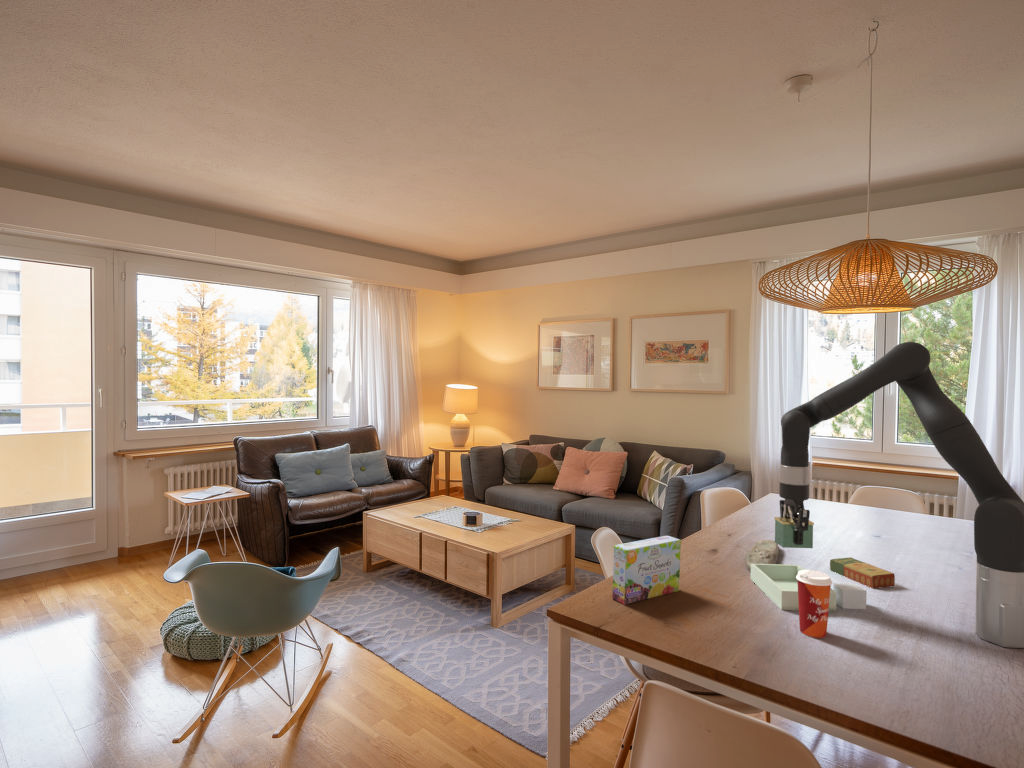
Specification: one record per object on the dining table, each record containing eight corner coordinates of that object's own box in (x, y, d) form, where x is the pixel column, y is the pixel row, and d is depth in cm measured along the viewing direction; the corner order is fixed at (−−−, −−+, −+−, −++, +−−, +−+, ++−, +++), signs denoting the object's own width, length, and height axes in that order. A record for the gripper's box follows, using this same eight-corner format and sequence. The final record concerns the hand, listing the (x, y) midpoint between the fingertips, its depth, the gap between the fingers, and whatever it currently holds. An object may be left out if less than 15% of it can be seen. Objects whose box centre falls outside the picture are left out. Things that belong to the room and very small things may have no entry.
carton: (871, 589, 163) (872, 575, 163) (829, 571, 179) (829, 558, 179) (895, 587, 165) (895, 573, 165) (850, 569, 181) (850, 556, 181)
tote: (836, 611, 146) (836, 592, 146) (781, 609, 147) (781, 590, 147) (797, 581, 168) (798, 564, 168) (750, 579, 169) (750, 563, 169)
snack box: (626, 606, 149) (626, 549, 148) (611, 599, 153) (612, 544, 153) (680, 591, 160) (681, 538, 160) (665, 585, 165) (666, 533, 164)
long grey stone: (784, 553, 202) (754, 550, 207) (783, 538, 202) (753, 535, 207) (775, 576, 171) (741, 572, 176) (775, 559, 172) (740, 555, 177)
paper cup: (816, 642, 129) (817, 582, 129) (787, 628, 136) (788, 571, 136) (839, 636, 132) (840, 577, 132) (810, 623, 139) (811, 567, 139)
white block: (866, 609, 148) (866, 590, 148) (842, 608, 149) (843, 590, 149) (855, 602, 153) (856, 583, 153) (833, 601, 154) (833, 583, 154)
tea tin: (813, 548, 155) (813, 522, 155) (782, 547, 155) (783, 522, 155) (803, 542, 160) (804, 517, 160) (774, 541, 161) (774, 516, 161)
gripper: (820, 486, 150) (819, 549, 150) (796, 477, 165) (795, 534, 165) (791, 485, 151) (791, 548, 151) (770, 476, 165) (769, 534, 165)
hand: (793, 541), depth 158 cm, fingers closed on tea tin, 5 cm apart
